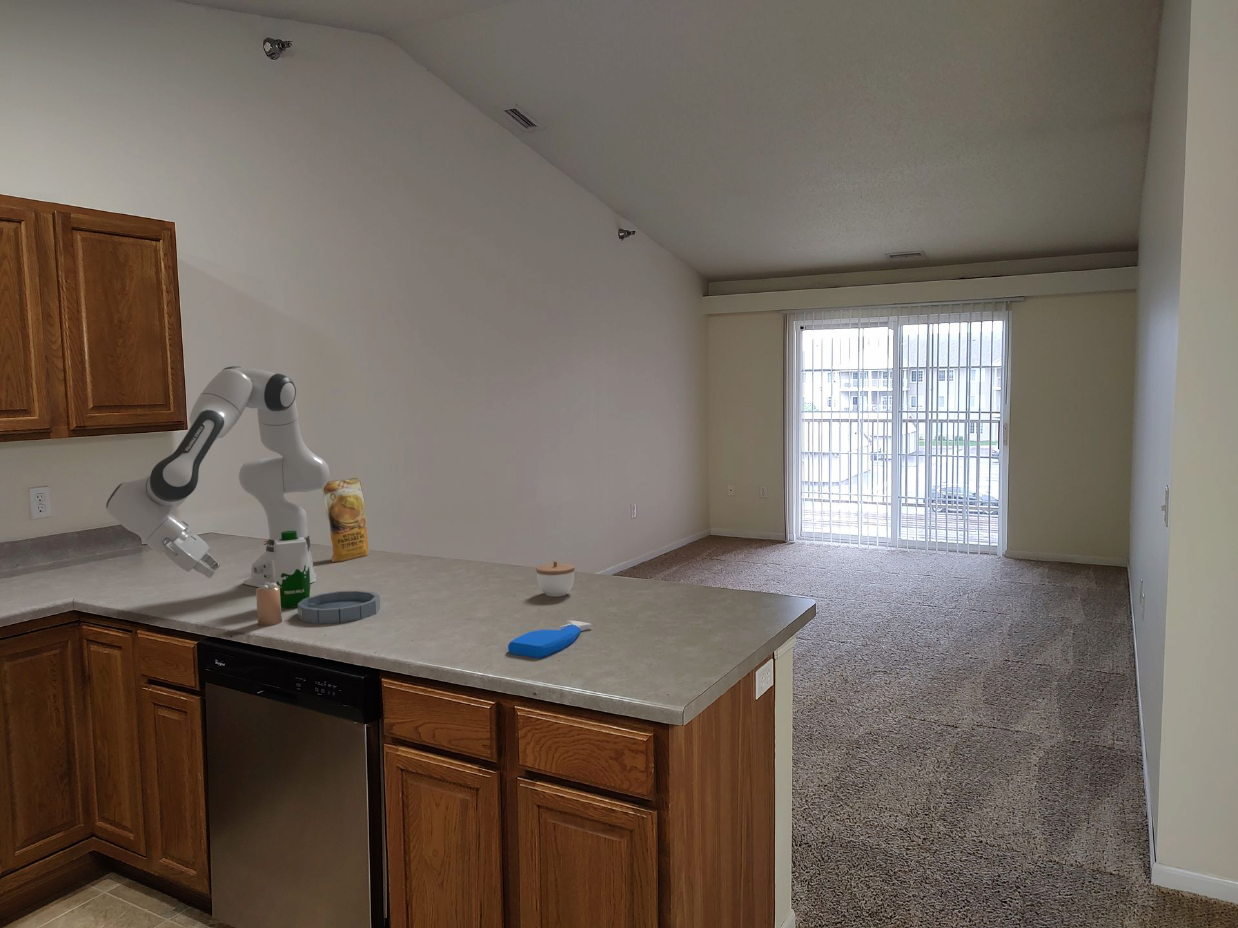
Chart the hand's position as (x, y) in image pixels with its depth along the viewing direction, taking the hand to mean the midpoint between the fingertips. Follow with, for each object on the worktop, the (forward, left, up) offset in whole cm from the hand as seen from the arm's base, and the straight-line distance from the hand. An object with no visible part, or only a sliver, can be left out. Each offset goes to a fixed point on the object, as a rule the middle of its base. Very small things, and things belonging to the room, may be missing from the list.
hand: (215, 571), depth 209 cm
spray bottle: (+84, +23, -15) cm, 89 cm away
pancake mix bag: (-34, +79, -15) cm, 88 cm away
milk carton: (-1, +24, -15) cm, 28 cm away
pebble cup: (+8, +8, -14) cm, 19 cm away
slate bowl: (+18, +22, -14) cm, 32 cm away
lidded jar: (+62, +60, -15) cm, 88 cm away
